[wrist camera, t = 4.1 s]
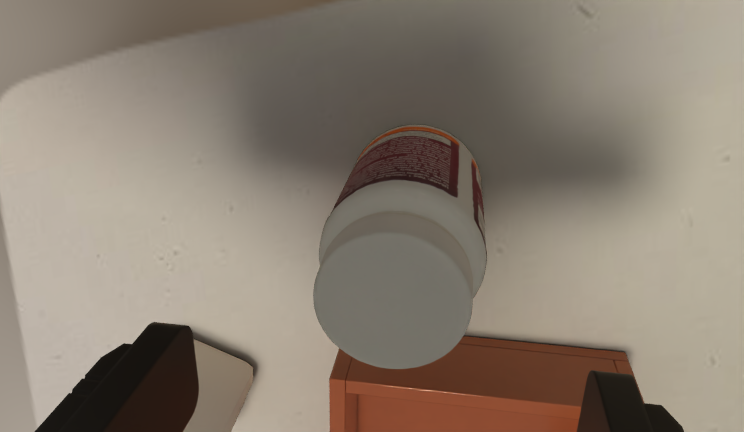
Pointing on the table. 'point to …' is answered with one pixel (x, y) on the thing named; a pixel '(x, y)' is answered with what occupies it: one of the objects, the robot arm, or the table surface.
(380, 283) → the pill bottle
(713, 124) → the table surface
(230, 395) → the pepper shaker
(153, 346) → the robot arm
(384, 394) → the terracotta tray
